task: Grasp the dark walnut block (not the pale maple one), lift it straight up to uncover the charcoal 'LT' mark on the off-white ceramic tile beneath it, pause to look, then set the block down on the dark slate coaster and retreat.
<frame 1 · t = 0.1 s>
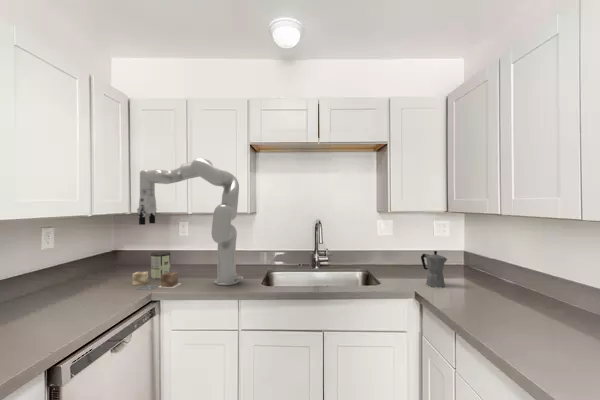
hand: (147, 223, 187), 31 cm above the worktop, fingers open, 9 cm apart
walnut block: (169, 285, 175), resting on code tile
code tile: (169, 286, 175), on the worktop
coffeepot: (433, 285, 178), on the worktop
slate coaster: (148, 288, 170), on the worktop
coffee can: (160, 278, 193), on the worktop
maple block: (140, 284, 179), on the worktop
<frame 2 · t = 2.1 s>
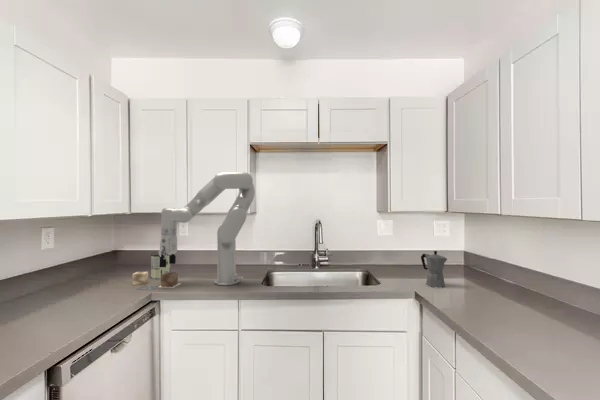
hand: (167, 265, 175), 11 cm above the worktop, fingers open, 9 cm apart
nothing on the worktop moved.
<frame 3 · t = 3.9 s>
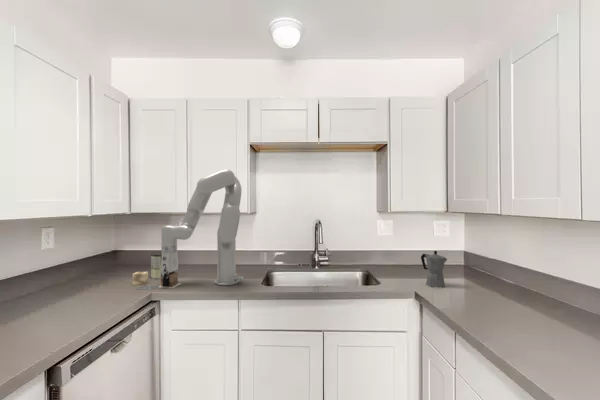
hand: (169, 283, 175), 1 cm above the worktop, fingers closed on walnut block, 6 cm apart
walnut block: (169, 285, 175), resting on code tile, touching gripper
everything else where it was.
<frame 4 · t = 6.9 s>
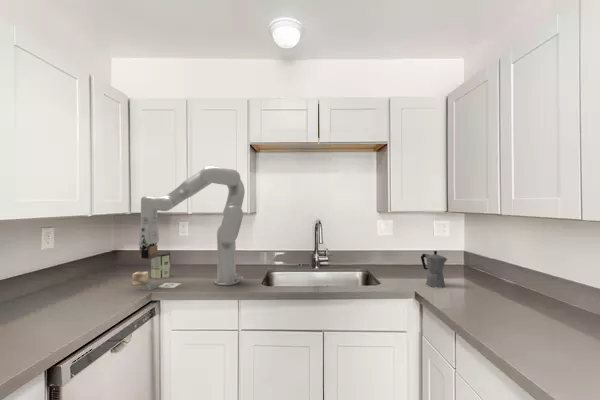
hand: (148, 256, 170), 16 cm above the worktop, fingers closed on walnut block, 6 cm apart
walnut block: (148, 257, 170), point 15 cm above the worktop, touching gripper
everything else where it was.
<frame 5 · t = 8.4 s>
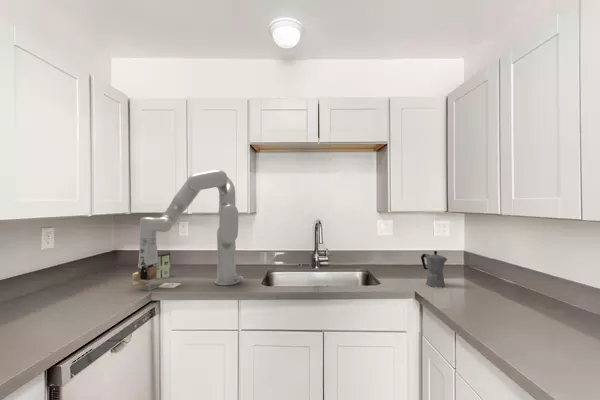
hand: (147, 277, 170), 6 cm above the worktop, fingers closed on walnut block, 6 cm apart
walnut block: (147, 278, 170), point 5 cm above the worktop, touching gripper
everything else where it was.
when the fingers open (2 cm above the worktop, at t = 9.8 s): walnut block drops 1 cm, resting on slate coaster.
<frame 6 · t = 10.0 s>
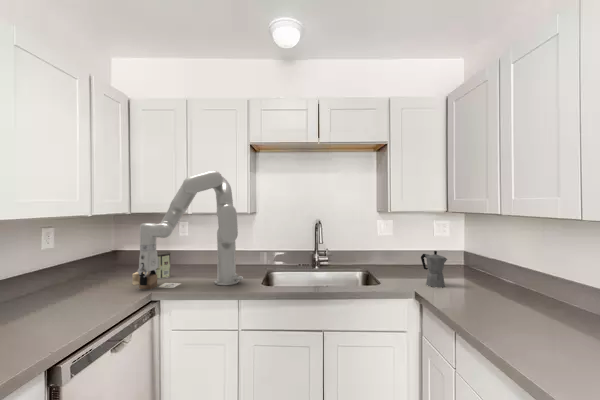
hand: (148, 282, 170), 3 cm above the worktop, fingers open, 7 cm apart
walnut block: (148, 287, 170), resting on slate coaster
everything else where it was.
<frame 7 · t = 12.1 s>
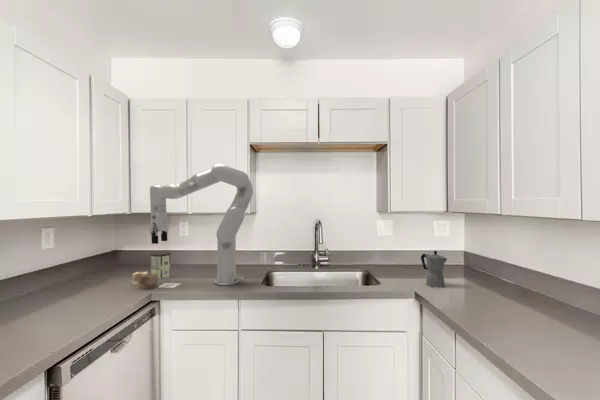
hand: (159, 242, 176), 22 cm above the worktop, fingers open, 9 cm apart
nothing on the worktop moved.
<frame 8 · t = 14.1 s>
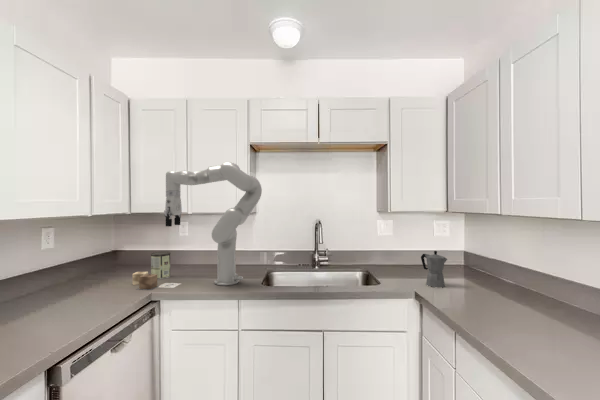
hand: (173, 225, 185), 30 cm above the worktop, fingers open, 9 cm apart
nothing on the worktop moved.
at the end: walnut block inside the target area on the slate coaster (0.1 cm from its centre), point 0.5 cm above the slate coaster's base; walnut block tilted 0°; walnut block moved 9.9 cm from its start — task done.
